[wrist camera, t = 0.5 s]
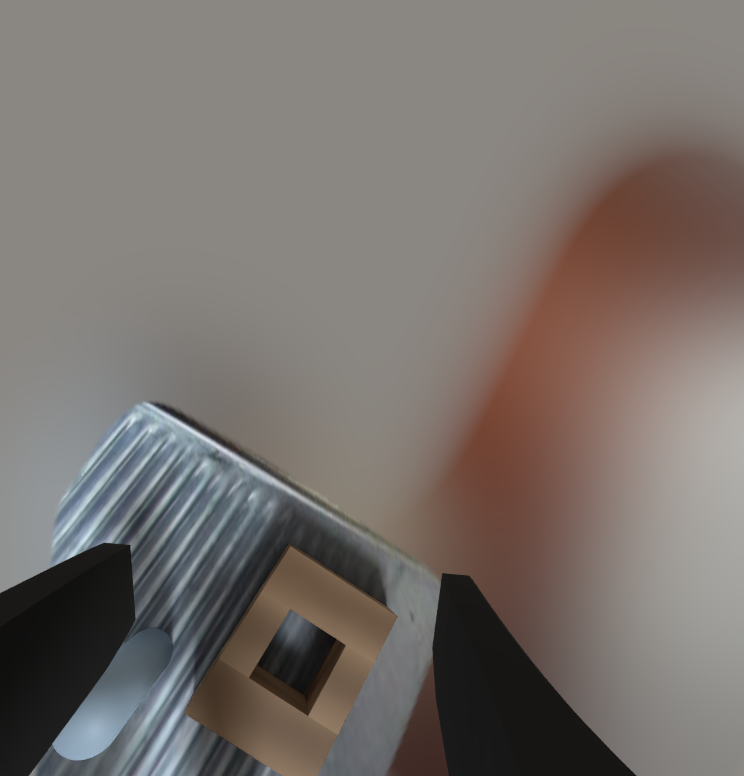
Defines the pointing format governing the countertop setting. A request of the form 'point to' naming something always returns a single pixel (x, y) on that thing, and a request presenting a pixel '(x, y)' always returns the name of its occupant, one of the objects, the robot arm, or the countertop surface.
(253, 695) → the hole block
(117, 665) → the dowel
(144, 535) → the countertop surface
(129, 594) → the robot arm
